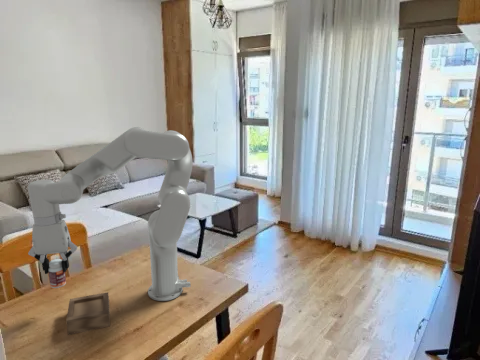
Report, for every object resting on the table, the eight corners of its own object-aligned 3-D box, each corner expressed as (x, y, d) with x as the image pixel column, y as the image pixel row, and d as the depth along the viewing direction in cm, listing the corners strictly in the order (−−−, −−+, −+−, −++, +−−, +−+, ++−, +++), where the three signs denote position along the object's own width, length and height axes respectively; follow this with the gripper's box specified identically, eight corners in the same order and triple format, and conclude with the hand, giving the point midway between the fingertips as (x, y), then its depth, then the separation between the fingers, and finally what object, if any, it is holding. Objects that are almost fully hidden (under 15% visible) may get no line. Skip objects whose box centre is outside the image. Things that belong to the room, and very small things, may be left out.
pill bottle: (59, 289, 112) (57, 266, 110) (46, 287, 113) (44, 264, 111) (69, 281, 117) (67, 259, 115) (56, 279, 118) (54, 257, 116)
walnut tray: (109, 304, 121) (108, 292, 120) (109, 326, 110) (108, 312, 109) (71, 312, 117) (69, 299, 116) (68, 334, 106) (66, 320, 105)
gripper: (79, 212, 114) (86, 262, 119) (23, 217, 111) (33, 268, 116) (73, 221, 107) (81, 273, 112) (12, 226, 104) (24, 280, 109)
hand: (56, 270), depth 114 cm, fingers closed on pill bottle, 4 cm apart
